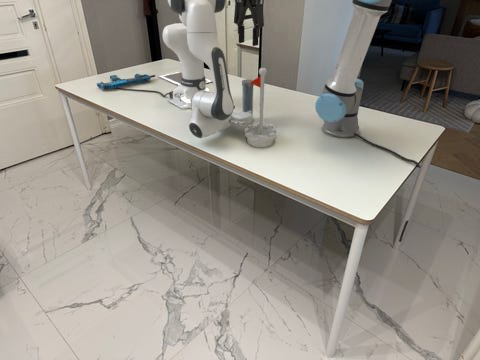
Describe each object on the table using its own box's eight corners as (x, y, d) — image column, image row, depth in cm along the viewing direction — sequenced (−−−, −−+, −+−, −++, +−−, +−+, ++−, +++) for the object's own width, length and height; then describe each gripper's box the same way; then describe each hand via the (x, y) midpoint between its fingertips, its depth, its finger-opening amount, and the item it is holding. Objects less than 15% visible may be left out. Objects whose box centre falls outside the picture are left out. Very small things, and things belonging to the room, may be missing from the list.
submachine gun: (141, 68, 225) (159, 74, 208) (142, 74, 227) (160, 80, 210) (89, 78, 206) (104, 86, 190) (91, 84, 208) (106, 92, 192)
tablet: (158, 76, 219) (158, 76, 218) (184, 71, 230) (184, 70, 229) (185, 88, 198) (185, 88, 198) (213, 81, 209) (213, 81, 209)
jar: (240, 121, 159) (240, 82, 149) (245, 117, 162) (245, 79, 153) (249, 123, 157) (250, 84, 147) (254, 119, 161) (255, 81, 151)
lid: (239, 85, 150) (239, 81, 149) (245, 82, 154) (245, 78, 153) (250, 87, 148) (250, 83, 147) (255, 84, 151) (255, 80, 150)
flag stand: (267, 132, 148) (271, 61, 132) (281, 144, 138) (286, 70, 122) (240, 137, 144) (240, 65, 128) (252, 150, 134) (253, 74, 118)
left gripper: (240, 117, 137) (260, 108, 146) (204, 106, 148) (225, 97, 157) (240, 132, 141) (260, 121, 150) (205, 119, 152) (225, 110, 161)
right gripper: (275, -20, 125) (272, 46, 137) (237, -21, 137) (237, 39, 149) (262, -19, 120) (260, 49, 133) (223, -21, 132) (225, 41, 145)
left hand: (242, 109), depth 154 cm, fingers open, 8 cm apart
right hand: (248, 43), depth 141 cm, fingers open, 7 cm apart
